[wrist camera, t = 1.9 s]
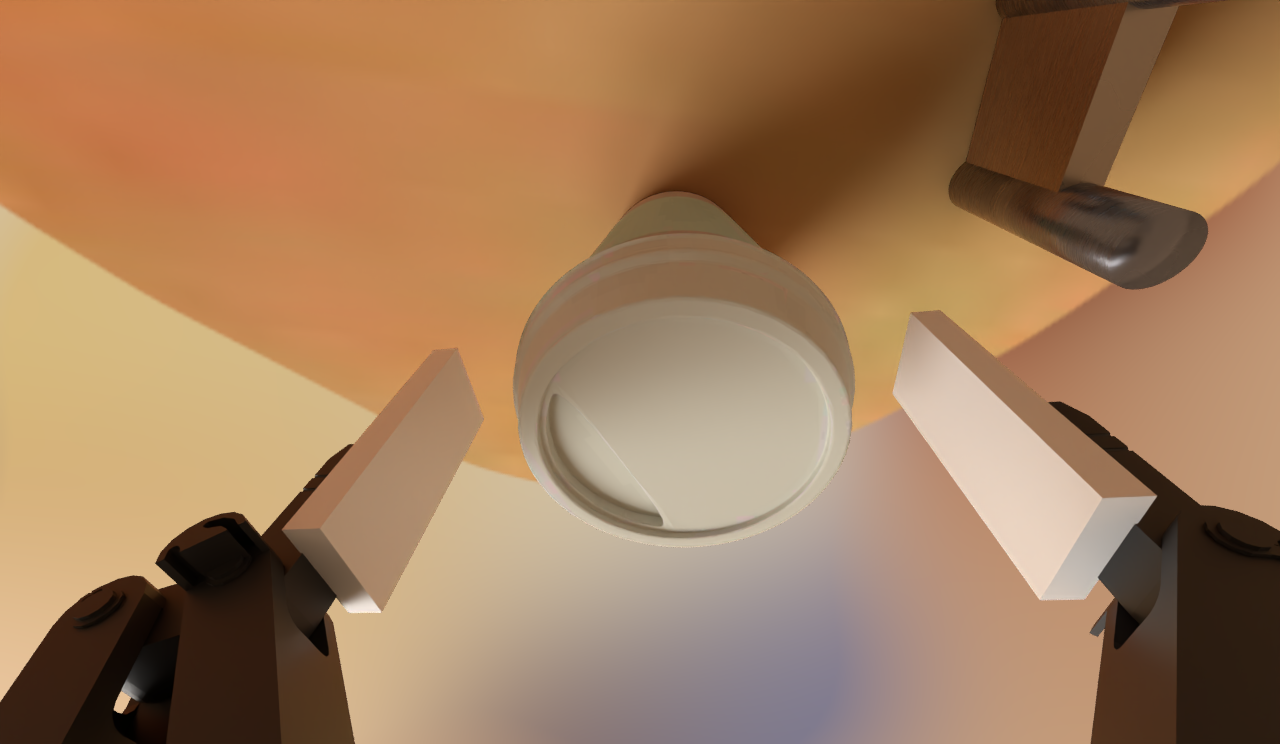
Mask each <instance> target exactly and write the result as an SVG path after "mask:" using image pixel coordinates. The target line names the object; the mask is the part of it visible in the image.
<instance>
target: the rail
mask: <svg viewBox="0 0 1280 744" xmlns="http://www.w3.org/2000/svg"><path fill="white" fill-rule="evenodd" d="M1216 1H1225V0H996V7H997V10H998V13H999V15H1000V16H1001V17H1002V23H1001V27H1000V31H999V35H998V38H997V42H996V46H995V50H994V54H993V58H992V62H991V66H990V70H989V74H988V78H987V81H986V85H985V89H984V93H983V97H982V101H981V105H980V109H979V113H978V117H977V121H976V124H975V128H974V132H973V136H972V140H971V144H970V148H969V152H968V156H967V160H966V162H965V163H964V164H963V165H962V166H961V167H960V168H959V169H958V170H957V171H956V173H955V174H954V176H953V177H952V179H951V182H950V185H949V197H950V199H951V201H952V203H953V204H954V205H956V206H957V207H960V208H962V209H964V210H966V211H968V212H970V213H972V214H974V215H976V216H978V217H980V218H982V219H984V220H986V221H988V222H990V223H992V224H994V225H996V226H998V227H1000V228H1002V229H1004V230H1006V231H1008V232H1010V233H1012V234H1014V235H1016V236H1018V237H1020V238H1022V239H1024V240H1026V241H1028V242H1030V243H1033V244H1035V245H1037V246H1039V247H1041V248H1043V249H1045V250H1047V251H1049V252H1051V253H1053V254H1055V255H1057V256H1059V257H1061V258H1063V259H1065V260H1067V261H1069V262H1071V263H1073V264H1075V265H1077V266H1079V267H1081V268H1083V269H1085V270H1087V271H1089V272H1091V273H1093V274H1095V275H1097V276H1099V277H1101V278H1104V279H1106V280H1108V281H1110V282H1112V283H1114V284H1116V285H1118V286H1120V287H1122V288H1126V289H1143V288H1148V287H1152V286H1155V285H1158V284H1160V283H1162V282H1164V281H1166V280H1168V279H1170V278H1172V277H1174V276H1175V275H1177V274H1178V273H1179V272H1181V271H1182V270H1183V269H1185V268H1186V267H1187V266H1188V265H1189V264H1190V263H1191V262H1192V261H1193V260H1194V259H1195V258H1196V257H1197V255H1198V254H1199V252H1200V251H1201V249H1202V248H1203V246H1204V244H1205V242H1206V239H1207V235H1208V226H1207V223H1206V220H1205V219H1204V218H1203V217H1202V216H1201V215H1200V214H1198V213H1196V212H1193V211H1189V210H1186V209H1182V208H1178V207H1175V206H1171V205H1168V204H1164V203H1161V202H1157V201H1154V200H1150V199H1147V198H1143V197H1139V196H1136V195H1132V194H1129V193H1125V192H1122V191H1118V190H1115V189H1111V188H1108V187H1104V184H1105V181H1106V179H1107V177H1108V174H1109V172H1110V170H1111V167H1112V165H1113V162H1114V160H1115V158H1116V155H1117V153H1118V150H1119V148H1120V146H1121V143H1122V141H1123V139H1124V136H1125V134H1126V131H1127V129H1128V127H1129V124H1130V122H1131V119H1132V117H1133V115H1134V112H1135V110H1136V108H1137V105H1138V103H1139V100H1140V98H1141V96H1142V93H1143V91H1144V88H1145V86H1146V84H1147V81H1148V79H1149V77H1150V74H1151V72H1152V69H1153V67H1154V65H1155V62H1156V60H1157V57H1158V55H1159V53H1160V50H1161V48H1162V46H1163V43H1164V41H1165V38H1166V36H1167V34H1168V31H1169V29H1170V26H1171V24H1172V22H1173V19H1174V17H1175V15H1176V12H1177V10H1178V7H1179V6H1181V5H1190V4H1199V3H1208V2H1216Z"/></svg>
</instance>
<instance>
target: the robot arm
mask: <svg viewBox="0 0 1280 744" xmlns="http://www.w3.org/2000/svg"><path fill="white" fill-rule="evenodd" d="M893 395H894V396H895V398H896V399H897V401H898V402H899V403H900V405H901V406H902V408H903V409H904V410H905V412H906V413H907V415H908V416H909V417H910V419H911V420H912V422H913V423H914V424H915V426H916V427H917V429H918V430H919V431H920V433H921V434H922V436H923V437H924V438H925V440H926V441H927V443H928V444H929V445H930V447H931V448H932V450H933V451H934V452H935V454H936V455H937V457H938V458H939V459H940V461H941V462H942V464H943V465H944V466H945V468H946V469H947V470H948V472H949V473H950V475H951V476H952V477H953V479H954V480H955V482H956V483H957V485H958V486H959V487H960V489H961V490H962V492H963V493H964V494H965V496H966V497H967V498H968V500H969V501H970V503H971V504H972V506H973V507H974V508H975V510H976V511H977V512H978V514H979V515H980V517H981V518H982V520H983V521H984V522H985V524H986V525H987V527H988V528H989V529H990V531H991V532H992V534H993V535H994V536H995V538H996V539H997V541H998V542H999V543H1000V545H1001V546H1002V548H1003V549H1004V550H1005V552H1006V553H1007V555H1008V556H1009V557H1010V559H1011V560H1012V562H1013V563H1014V564H1015V566H1016V567H1017V568H1018V570H1019V571H1020V573H1021V574H1022V576H1023V577H1024V579H1025V580H1026V581H1027V583H1028V584H1029V586H1030V587H1031V588H1032V590H1033V591H1034V593H1035V594H1036V595H1037V597H1038V598H1039V599H1040V600H1077V599H1085V598H1086V597H1087V595H1088V594H1089V593H1090V591H1091V590H1092V588H1093V587H1094V585H1095V584H1096V583H1097V581H1098V580H1101V582H1102V583H1103V584H1104V585H1105V587H1106V588H1107V589H1108V590H1109V591H1110V592H1111V593H1112V595H1113V596H1114V597H1115V598H1114V599H1113V601H1112V602H1111V603H1110V605H1109V606H1108V607H1107V609H1106V610H1105V611H1104V613H1103V614H1102V615H1101V616H1100V618H1099V619H1098V620H1097V622H1096V623H1095V624H1094V626H1093V628H1092V630H1091V631H1090V633H1091V634H1093V635H1095V636H1099V634H1100V633H1101V632H1102V631H1103V629H1105V632H1104V639H1103V648H1102V656H1101V664H1100V672H1099V680H1098V689H1097V697H1096V706H1095V713H1094V721H1093V729H1092V738H1091V744H1280V531H1279V530H1277V529H1275V528H1273V527H1272V526H1270V525H1268V524H1266V523H1264V522H1263V521H1260V520H1258V519H1255V518H1253V517H1250V516H1248V515H1245V514H1243V513H1240V512H1237V511H1233V510H1229V509H1225V508H1221V507H1216V506H1203V505H1202V506H1201V505H1200V504H1198V503H1197V502H1196V501H1195V500H1193V499H1192V498H1191V497H1189V496H1188V495H1187V494H1186V493H1184V492H1183V491H1182V490H1181V489H1180V488H1178V487H1177V486H1176V485H1175V484H1173V483H1172V482H1171V481H1170V480H1168V479H1167V478H1166V477H1165V476H1163V475H1162V474H1161V473H1160V472H1158V471H1157V470H1156V469H1155V468H1153V467H1152V466H1151V465H1150V464H1148V463H1147V462H1146V461H1145V460H1143V459H1142V458H1141V457H1140V456H1139V455H1137V454H1136V453H1135V452H1133V451H1129V450H1128V447H1127V446H1126V445H1125V444H1124V443H1122V442H1121V441H1120V440H1119V439H1117V438H1116V437H1114V436H1110V433H1109V431H1107V430H1106V429H1105V428H1104V427H1102V426H1101V425H1100V424H1098V423H1097V422H1096V421H1095V420H1094V419H1092V418H1091V417H1090V416H1088V415H1087V414H1084V413H1082V412H1080V411H1078V410H1076V409H1074V408H1072V407H1070V406H1068V405H1066V404H1064V403H1062V402H1047V401H1046V400H1044V399H1043V398H1042V397H1041V396H1040V395H1039V394H1037V393H1036V392H1035V391H1034V390H1033V389H1032V388H1030V387H1029V386H1028V385H1027V384H1026V383H1025V382H1023V381H1022V380H1021V379H1020V378H1019V377H1017V376H1016V375H1015V374H1014V373H1013V372H1012V371H1011V370H1009V369H1008V368H1007V367H1006V366H1005V365H1003V364H1002V363H1001V362H1000V361H999V360H998V359H996V358H995V357H994V356H993V355H992V354H991V353H989V352H988V351H987V350H986V349H985V348H984V347H982V346H981V345H980V344H979V343H978V342H977V341H975V340H974V339H973V338H972V337H971V336H970V335H968V334H967V333H966V332H965V331H964V330H963V329H961V328H960V327H959V326H958V325H957V324H956V323H954V322H953V321H952V320H951V319H950V318H948V317H947V316H946V315H945V314H944V313H943V312H941V311H940V310H937V311H924V312H912V313H910V318H909V322H908V327H907V331H906V336H905V340H904V345H903V349H902V354H901V358H900V363H899V367H898V372H897V376H896V381H895V385H894V390H893ZM483 420H484V418H483V415H482V412H481V410H480V407H479V404H478V402H477V399H476V396H475V394H474V391H473V388H472V386H471V383H470V380H469V378H468V375H467V372H466V370H465V367H464V364H463V362H462V359H461V356H460V354H459V351H458V348H454V349H441V350H433V351H432V353H431V354H430V355H429V356H428V357H427V359H426V360H425V361H424V362H423V363H422V364H421V366H420V367H419V368H418V369H417V370H416V372H415V373H414V374H413V375H412V376H411V377H410V379H409V380H408V381H407V382H406V383H405V385H404V386H403V387H402V388H401V389H400V390H399V392H398V393H397V394H396V395H395V396H394V398H393V399H392V400H391V401H390V402H389V403H388V405H387V406H386V407H385V408H384V409H383V411H382V412H381V413H380V414H379V415H378V416H377V418H376V419H375V420H374V421H373V422H372V424H371V425H370V426H369V427H368V428H367V429H366V431H365V432H364V433H363V434H362V435H361V437H360V438H359V439H358V440H357V442H355V444H349V445H347V446H346V447H345V448H344V449H342V450H341V451H339V452H338V453H337V454H335V455H334V456H332V457H331V458H330V459H329V460H328V461H327V462H326V463H325V464H324V465H323V467H322V468H321V469H320V470H319V471H318V472H317V473H316V474H315V478H312V479H311V480H310V481H309V482H308V484H307V485H306V486H305V487H304V488H303V489H304V490H303V492H300V493H299V494H298V495H297V496H296V497H295V498H294V500H293V501H292V502H291V503H290V504H289V505H288V506H287V508H286V509H285V510H284V511H283V512H282V513H281V514H280V515H279V517H278V518H277V519H276V520H275V521H274V522H273V523H272V525H271V526H270V527H269V528H268V529H267V530H266V532H265V533H264V534H263V535H262V536H260V534H259V533H258V532H257V531H256V530H255V529H254V527H253V526H252V525H251V524H250V523H249V522H248V520H247V519H246V518H245V517H244V516H243V515H242V514H239V513H235V512H231V513H223V514H219V515H216V516H213V517H211V518H207V519H205V520H203V521H201V522H199V523H197V524H195V525H194V526H192V527H190V528H188V529H187V530H185V531H184V532H182V533H181V534H180V535H178V536H177V537H176V538H174V539H173V540H172V541H171V542H170V543H169V544H168V545H167V546H166V547H165V548H164V549H163V550H162V552H161V553H160V555H159V557H158V559H157V561H156V563H155V564H156V565H158V566H159V567H160V568H161V569H162V570H163V571H164V572H165V573H167V575H168V576H170V577H171V578H172V579H173V580H174V581H175V582H176V583H177V584H175V585H171V586H168V587H165V588H161V589H157V588H155V587H154V586H153V585H152V584H151V583H150V582H148V581H147V580H146V579H145V578H144V577H142V576H129V577H124V578H121V579H117V580H115V581H112V582H110V583H108V584H106V585H103V586H101V587H99V588H97V589H95V590H93V591H92V593H88V594H87V595H85V596H84V597H82V598H81V599H80V600H79V601H78V602H77V603H75V604H74V605H73V606H72V607H70V608H69V609H68V610H67V611H66V612H65V613H64V614H63V615H62V616H61V617H60V618H59V619H58V621H57V622H56V623H55V624H54V625H53V626H52V628H51V629H50V631H49V632H48V634H47V635H46V637H45V638H44V639H43V641H42V642H41V644H40V645H39V647H38V648H37V650H36V651H35V652H34V654H33V655H32V657H31V658H30V660H29V661H28V663H27V664H26V666H25V667H24V668H23V670H22V671H21V673H20V674H19V676H18V677H17V679H16V680H15V681H14V683H13V685H12V686H11V687H10V689H9V690H8V692H7V693H6V695H5V696H4V698H3V699H2V700H1V702H0V744H355V742H354V737H353V731H352V726H351V720H350V715H349V709H348V703H347V698H346V692H345V686H344V681H343V675H342V670H341V664H340V659H339V653H338V648H337V642H336V636H335V631H334V625H333V622H332V620H331V618H330V617H329V615H328V614H327V613H326V612H327V610H328V609H329V607H330V606H331V604H332V603H333V601H334V600H335V598H337V599H338V600H339V602H340V603H341V604H342V605H343V606H344V608H345V609H346V610H347V611H348V613H372V612H373V613H376V612H377V613H379V612H382V611H383V609H384V607H385V606H386V604H387V602H388V600H389V598H390V596H391V594H392V592H393V590H394V588H395V587H396V585H397V583H398V581H399V579H400V577H401V575H402V573H403V572H404V569H405V568H406V566H407V564H408V562H409V560H410V558H411V556H412V554H413V553H414V551H415V549H416V547H417V545H418V543H419V541H420V539H421V537H422V536H423V534H424V532H425V530H426V528H427V526H428V524H429V522H430V520H431V518H432V517H433V515H434V513H435V511H436V509H437V507H438V505H439V503H440V502H441V499H442V498H443V495H444V494H445V492H446V490H447V488H448V486H449V485H450V483H451V481H452V479H453V477H454V475H455V473H456V471H457V469H458V467H459V465H460V464H461V462H462V460H463V458H464V456H465V454H466V452H467V450H468V449H469V447H470V445H471V443H472V441H473V439H474V437H475V435H476V433H477V432H478V430H479V428H480V426H481V424H482V422H483ZM121 691H122V692H124V693H125V694H127V695H128V696H130V697H131V699H130V701H129V703H128V705H127V707H126V709H125V710H124V711H123V713H122V714H121V713H117V712H116V711H114V706H115V702H116V700H117V697H118V695H119V694H120V692H121Z"/></svg>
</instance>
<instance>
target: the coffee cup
mask: <svg viewBox="0 0 1280 744" xmlns="http://www.w3.org/2000/svg"><path fill="white" fill-rule="evenodd" d="M854 392H855V375H854V366H853V361H852V356H851V353H850V349H849V345H848V340H847V337H846V333H845V331H844V328H843V325H842V323H841V321H840V318H839V316H838V314H837V312H836V311H835V309H834V307H833V306H832V304H831V303H830V301H829V300H828V298H827V297H826V296H825V295H824V293H823V292H822V291H821V290H820V289H819V287H818V286H817V285H816V284H815V283H814V282H813V281H812V280H811V279H810V278H809V277H807V276H806V275H805V274H804V273H803V272H801V271H800V270H799V269H798V268H796V267H795V266H793V265H792V264H790V263H789V262H787V261H786V260H784V259H782V258H781V257H779V256H777V255H775V254H773V253H771V252H769V251H767V250H765V249H762V248H761V247H760V246H759V245H758V244H757V243H756V242H755V241H754V240H753V239H752V238H751V237H750V236H749V235H748V234H747V233H746V232H745V231H744V230H743V229H742V228H741V227H740V226H739V225H738V224H737V223H736V222H735V221H734V220H733V219H732V218H731V217H730V216H728V215H727V214H726V213H725V212H724V211H723V210H722V209H721V208H720V207H719V206H717V205H716V204H715V203H713V202H712V201H710V200H709V199H707V198H705V197H702V196H700V195H697V194H694V193H689V192H682V191H670V192H663V193H659V194H655V195H653V196H650V197H648V198H645V199H644V200H642V201H640V202H639V203H637V204H636V205H634V206H633V207H632V208H631V209H630V210H628V212H627V213H626V214H625V215H624V216H623V217H622V218H621V219H620V221H619V222H618V223H617V224H616V225H615V227H614V228H613V229H612V230H611V232H610V233H609V234H608V235H607V237H606V238H605V239H604V240H603V242H602V243H601V244H600V245H599V246H598V248H597V249H596V250H595V251H594V253H593V254H592V255H591V256H590V258H588V259H587V260H585V261H583V262H582V263H580V264H579V265H577V266H576V267H574V268H573V269H571V270H570V271H569V272H567V273H566V274H565V275H564V276H563V277H561V278H560V279H559V280H558V281H557V282H556V283H555V284H554V285H553V286H552V287H551V288H550V289H549V290H548V291H547V292H546V294H545V295H544V296H543V297H542V299H541V300H540V301H539V303H538V304H537V306H536V307H535V309H534V310H533V312H532V314H531V315H530V317H529V319H528V321H527V323H526V325H525V328H524V330H523V333H522V336H521V339H520V342H519V346H518V351H517V357H516V363H515V369H514V377H513V395H514V405H515V410H516V414H517V418H518V430H519V438H520V444H521V447H522V450H523V453H524V457H525V459H526V461H527V464H528V466H529V468H530V470H531V471H532V473H533V475H534V476H535V478H536V480H537V481H538V482H539V484H540V485H541V486H542V487H543V489H544V490H545V491H546V492H547V493H548V494H549V495H550V496H551V497H552V498H553V499H554V500H555V501H556V502H557V503H558V504H559V505H560V506H562V507H563V508H564V509H565V510H567V511H568V512H569V513H570V514H572V515H573V516H575V517H577V518H578V519H580V520H581V521H583V522H585V523H587V524H588V525H590V526H592V527H595V528H597V529H599V530H601V531H603V532H606V533H608V534H611V535H614V536H617V537H620V538H623V539H626V540H631V541H635V542H639V543H644V544H650V545H657V546H668V547H699V546H711V545H717V544H723V543H729V542H733V541H737V540H741V539H744V538H747V537H750V536H754V535H757V534H759V533H762V532H764V531H766V530H769V529H771V528H773V527H775V526H777V525H779V524H781V523H783V522H785V521H786V520H788V519H790V518H791V517H793V516H794V515H796V514H797V513H799V512H800V511H801V510H803V509H804V508H805V507H806V506H808V505H809V504H810V503H811V502H812V501H813V500H815V499H816V498H817V497H818V496H819V495H820V493H822V491H823V490H824V489H825V488H826V487H827V486H828V484H829V483H830V481H831V480H832V478H833V477H834V476H835V474H836V473H837V471H838V469H839V467H840V465H841V464H842V462H843V459H844V457H845V455H846V452H847V449H848V445H849V442H850V436H851V429H852V406H853V400H854Z"/></svg>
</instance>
